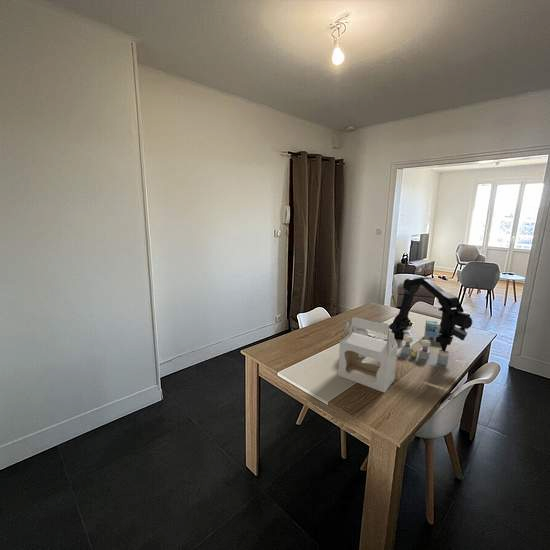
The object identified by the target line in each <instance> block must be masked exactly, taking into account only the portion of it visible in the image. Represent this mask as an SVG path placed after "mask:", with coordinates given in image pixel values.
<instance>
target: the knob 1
mask: <svg viewBox="0 0 550 550" xmlns="http://www.w3.org/2000/svg"><path fill="white" fill-rule="evenodd" d="M413 338H414V337H413V336H411V335H404V339H403V341H404V342H405V344H406V345H405V346H406V347H409V346H410V345H411V343H413V341H414V339H413Z"/></svg>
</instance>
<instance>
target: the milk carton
mask: <svg viewBox="0 0 550 550" xmlns="http://www.w3.org/2000/svg"><path fill="white" fill-rule="evenodd" d="M353 333H357V334H361V335H365V336H368V337H369V330H367V329H363V328H359V327H355V326H354V327H353ZM359 358H360V359H365V358H366V357H365V356H362V355H360V354H359V355H358V359H359Z"/></svg>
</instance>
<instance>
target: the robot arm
mask: <svg viewBox="0 0 550 550" xmlns="http://www.w3.org/2000/svg"><path fill="white" fill-rule="evenodd" d="M421 286H423V288H425V290H427V291H428V292H429V293H430V294H431V295H432V296H434V297H435V298H436V299H437V302H438V304H440V306H441V307H439V308H438V311H440V312H441V317H440V318H441V320H440V322H441V323H440V331H439V333H440V334H439V335H438V336H437V337H436V341H435V343H439V345H440V349H442V351H445V350H447V347H448V346H451V344H452V342H453V339H454V338H457V339H459V340H460V341H464V340H465V339H466V337H467V335H468V332H467V331H466V330H469V329H470V328H471V327H472V325H473V319H472V317H471V314H469V313H467V312H466V313H465V310H464V308H463V307H462V306H463V305H462V304H461V302H460V298H459V297H458V296H456V295H454V294H453V293H450V292H446V291H445V290H443V288H441V287H440V286H439V285H437V284H436V283H435V282H433V281H432V280H431V278H430V277H428V276H421V277H417V278H416V277H415V278H406V279H405V280H404V281H403V286H402V287H403V291H404V294H403V296H402V297H403V298H402V301H401V304H400V308H399V312H398V314H397V315H396V316H395V317H394V319H393V322H392V323H390V324H388V325H389V326H390V327H389V330H390V331H391V332H392V333H394V338H395V340H399V341H404V336H405V331H406V330H407V329H408V328H409V326H410V323H411V319H410V318H409V313H410V309H411V306H412V302H413V300H414V299H413V298H414V295H415V294H416V293H417V292H418V291H419V289H420V288H421ZM456 326H457V327H456Z"/></svg>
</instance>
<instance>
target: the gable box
mask: <svg viewBox="0 0 550 550" xmlns="http://www.w3.org/2000/svg"><path fill="white" fill-rule="evenodd" d="M389 325H390V324H388V323H383V322H379V321H376V320H372V319H366V318H363V317H357V316H353V317H352V319H351V322H350V321H347V322H346V329H345V331H344V333H343V334H342V337H341V339H340V340H339V354H338V355H339V356H338V369H337V370H338V371H337V372H338V373H337V376H338V377H341V378H344V379H347V380H350V381H352V382H354V383H358V384H360V385H363V386H365V387H368V388H371V389H374V390H376V391H379V392H382V393H384V394H385V393H386V392H387V390H388V389H389V388H390V386H391V385H392V383H393V382H394V381H395V378H396V377H395V376H396V366H397V354H398V346H399V344H398V343H397V341H396V340H397V339H395V338H394V333H392V332H391V331H392V330H390V329H389V327H390V326H389ZM354 327H359V328H363V329H367V330H368V331H371V332H374V333H375V332H376V333H380V334H383V335H385V336H386V340H383V339H381V338H376V337H375V338H374V337H371V336H369V335H368V336H365V335H361V334H357V333H354ZM359 354H360V355H362V356H365V358H370V359H374V360H377V361H378V362H379V363H380V366H377V365H375V364H373V363H369V362H362V361H360V360H359V357H358V355H359Z"/></svg>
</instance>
